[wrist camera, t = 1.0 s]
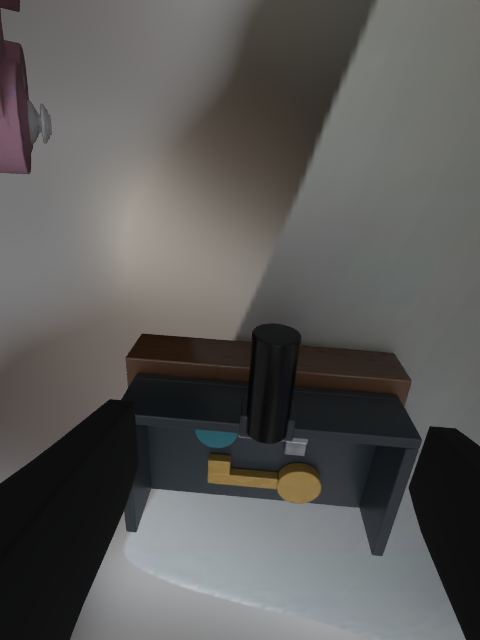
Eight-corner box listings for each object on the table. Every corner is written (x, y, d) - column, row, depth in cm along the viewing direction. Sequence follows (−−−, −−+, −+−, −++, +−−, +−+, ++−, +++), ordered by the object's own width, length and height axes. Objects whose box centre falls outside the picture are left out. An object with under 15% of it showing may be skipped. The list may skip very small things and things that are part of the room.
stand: (364, 464, 22) (376, 500, 20) (148, 445, 22) (135, 478, 20) (394, 352, 19) (412, 380, 16) (141, 332, 19) (124, 357, 17)
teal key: (196, 439, 18) (194, 448, 17) (196, 404, 17) (194, 412, 17) (305, 449, 18) (306, 458, 17) (311, 414, 17) (312, 422, 16)
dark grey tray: (366, 502, 20) (391, 585, 16) (144, 481, 20) (116, 558, 16) (422, 307, 15) (476, 360, 11) (130, 286, 15) (85, 329, 11)
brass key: (323, 462, 18) (325, 472, 18) (316, 495, 19) (318, 506, 18) (209, 452, 18) (207, 461, 18) (208, 485, 19) (206, 495, 19)
